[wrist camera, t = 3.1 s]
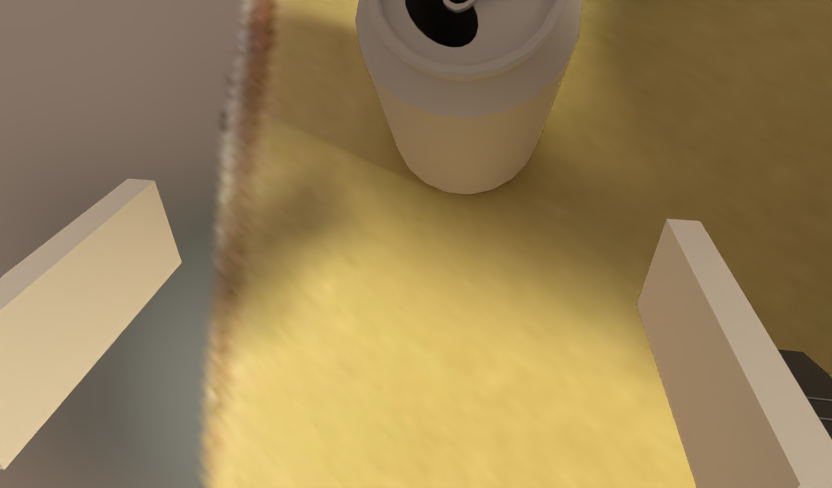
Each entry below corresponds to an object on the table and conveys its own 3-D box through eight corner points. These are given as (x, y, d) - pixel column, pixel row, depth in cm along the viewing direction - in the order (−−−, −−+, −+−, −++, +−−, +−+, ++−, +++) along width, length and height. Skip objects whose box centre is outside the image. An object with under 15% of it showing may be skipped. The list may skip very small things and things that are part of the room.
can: (369, 121, 27) (296, -34, 16) (478, 39, 28) (487, -176, 16) (453, 227, 26) (442, 144, 14) (567, 140, 26) (650, -13, 14)
